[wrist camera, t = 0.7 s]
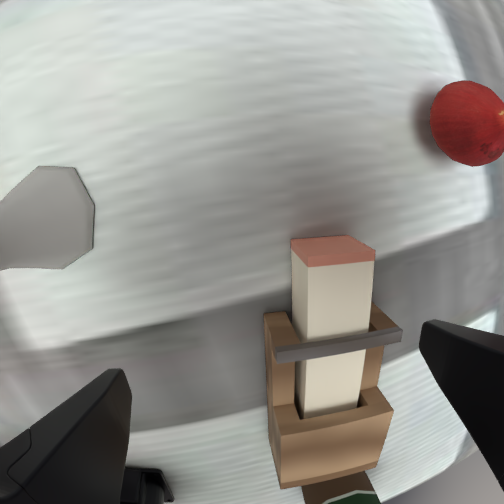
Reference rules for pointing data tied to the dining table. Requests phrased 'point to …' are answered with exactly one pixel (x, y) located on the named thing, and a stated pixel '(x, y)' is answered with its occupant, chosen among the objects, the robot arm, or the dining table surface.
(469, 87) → the onion
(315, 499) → the beer bottle
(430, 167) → the dining table surface
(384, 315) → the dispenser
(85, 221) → the flask
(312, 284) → the pink-topped cream pillar
